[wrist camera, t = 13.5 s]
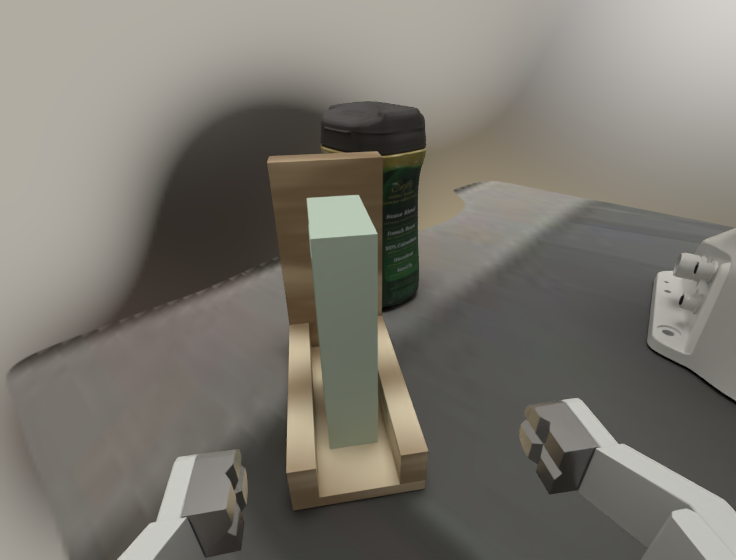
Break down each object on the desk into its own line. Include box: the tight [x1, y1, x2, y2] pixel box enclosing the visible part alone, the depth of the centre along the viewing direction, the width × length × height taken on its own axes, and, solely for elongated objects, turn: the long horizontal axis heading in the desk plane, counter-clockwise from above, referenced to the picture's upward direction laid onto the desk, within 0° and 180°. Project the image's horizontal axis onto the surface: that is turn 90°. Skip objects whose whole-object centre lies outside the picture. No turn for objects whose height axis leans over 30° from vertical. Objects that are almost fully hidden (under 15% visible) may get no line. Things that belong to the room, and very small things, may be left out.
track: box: [267, 151, 428, 511], centre depth 24 cm, size 15×8×16 cm, turn 9°
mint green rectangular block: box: [307, 195, 378, 449], centre depth 23 cm, size 6×3×14 cm, turn 9°
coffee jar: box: [321, 101, 426, 307], centre depth 38 cm, size 10×8×19 cm
